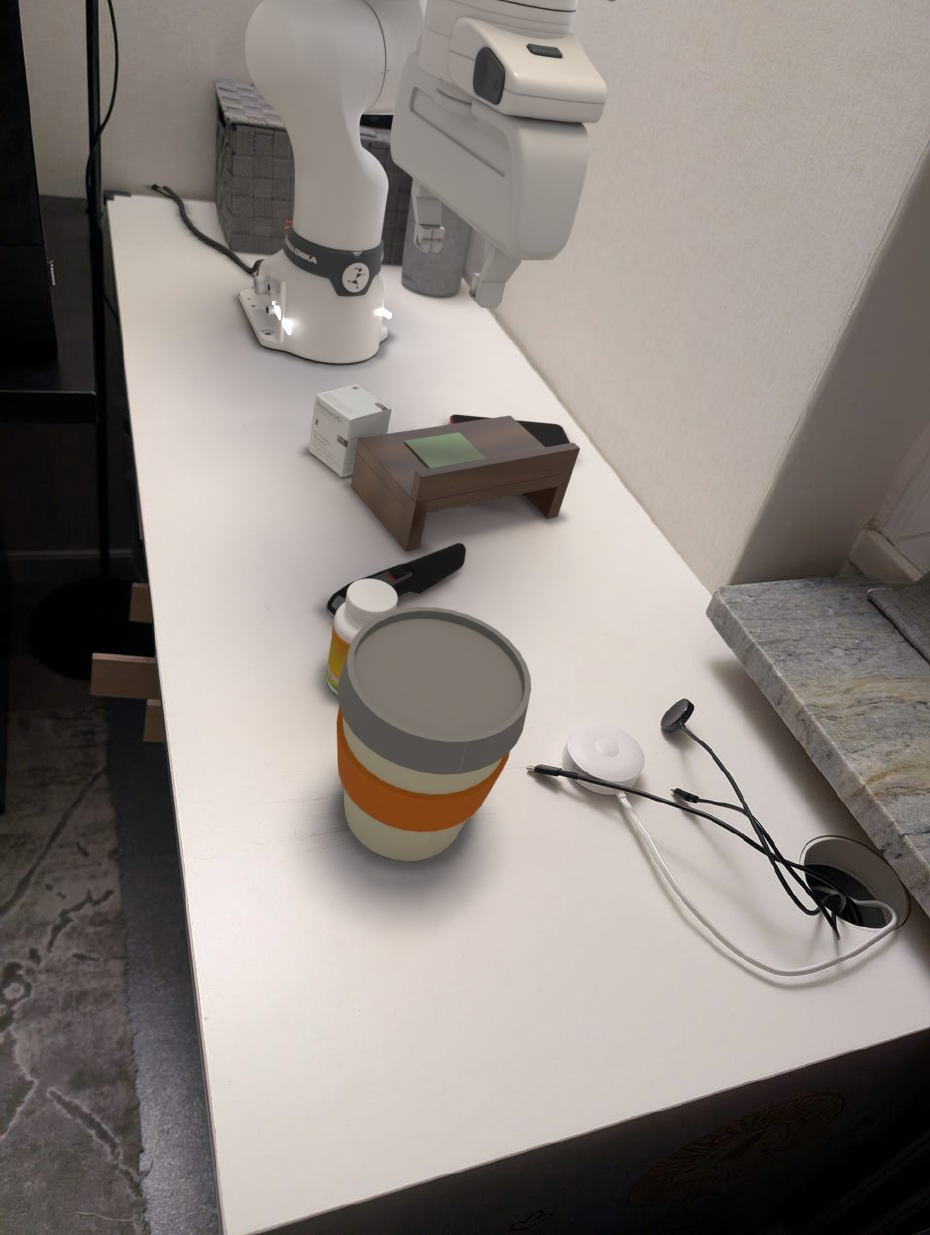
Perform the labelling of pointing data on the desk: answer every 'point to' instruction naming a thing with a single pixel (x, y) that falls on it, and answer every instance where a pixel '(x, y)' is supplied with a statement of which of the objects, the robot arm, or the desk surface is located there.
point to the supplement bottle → (356, 620)
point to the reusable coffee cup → (425, 726)
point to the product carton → (345, 425)
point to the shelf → (457, 472)
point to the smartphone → (528, 429)
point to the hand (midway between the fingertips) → (454, 275)
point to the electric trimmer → (412, 574)
